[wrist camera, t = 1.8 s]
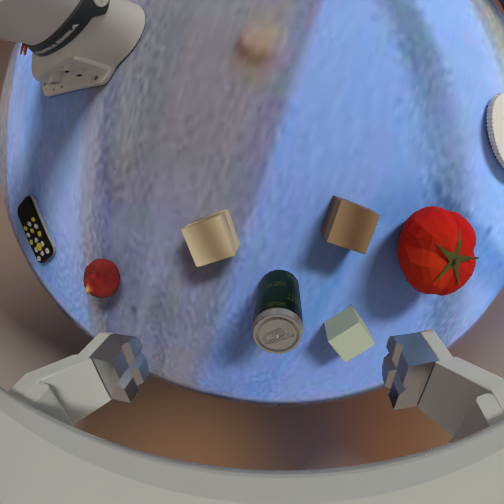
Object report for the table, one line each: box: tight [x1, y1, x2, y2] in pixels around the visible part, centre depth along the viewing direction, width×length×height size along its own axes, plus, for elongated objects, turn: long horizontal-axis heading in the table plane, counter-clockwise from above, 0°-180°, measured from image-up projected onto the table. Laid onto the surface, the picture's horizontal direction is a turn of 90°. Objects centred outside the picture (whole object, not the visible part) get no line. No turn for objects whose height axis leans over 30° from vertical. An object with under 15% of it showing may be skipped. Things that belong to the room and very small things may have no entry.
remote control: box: [18, 195, 56, 263], centre depth 40 cm, size 6×13×2 cm, turn 26°
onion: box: [84, 259, 120, 298], centre depth 37 cm, size 6×6×8 cm
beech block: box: [181, 209, 240, 267], centre depth 35 cm, size 5×5×5 cm
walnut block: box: [321, 196, 380, 254], centre depth 32 cm, size 5×5×5 cm
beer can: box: [252, 270, 303, 354], centre depth 33 cm, size 5×5×12 cm
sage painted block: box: [324, 304, 375, 362], centre depth 37 cm, size 5×5×5 cm
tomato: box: [397, 206, 479, 296], centre depth 29 cm, size 12×12×10 cm
